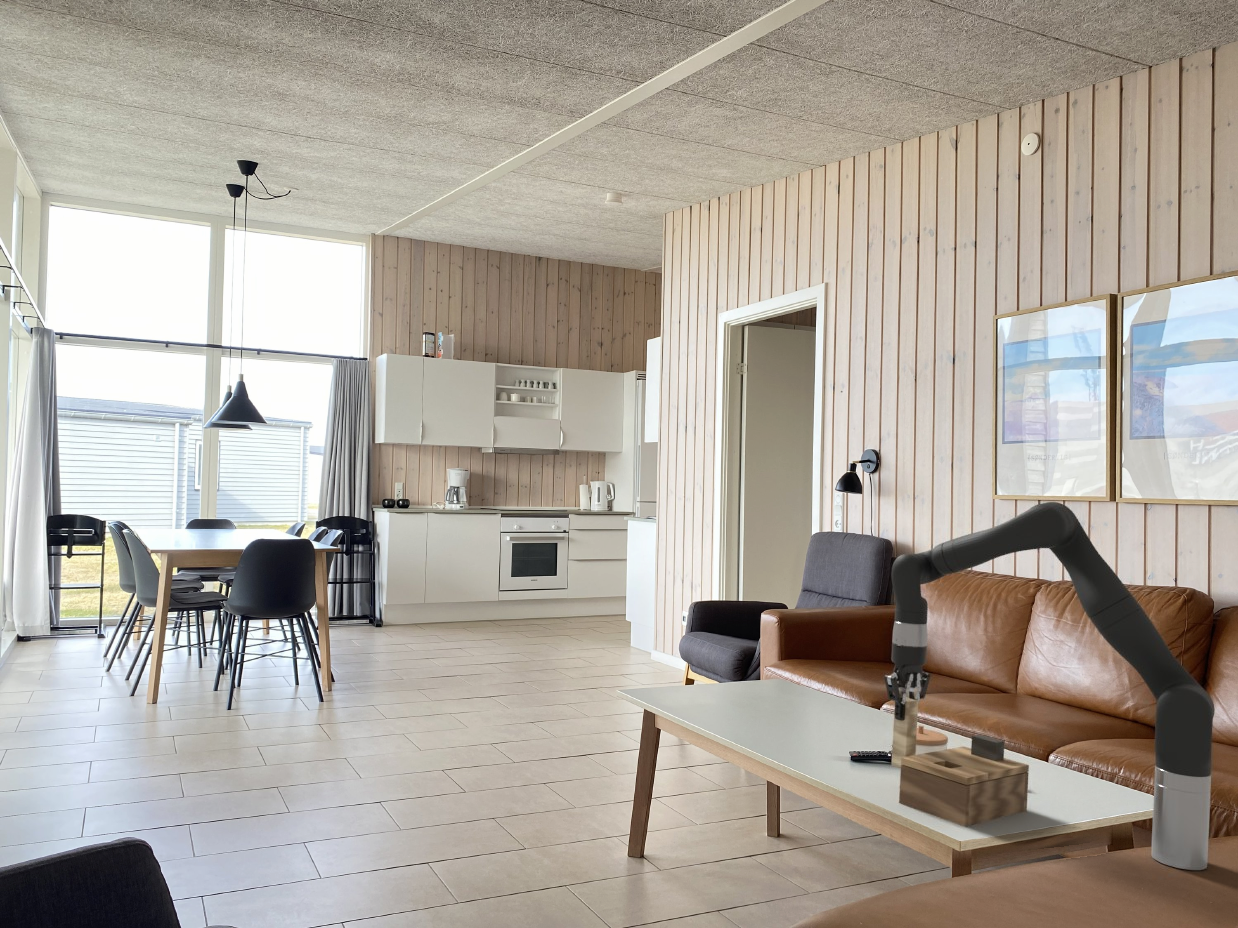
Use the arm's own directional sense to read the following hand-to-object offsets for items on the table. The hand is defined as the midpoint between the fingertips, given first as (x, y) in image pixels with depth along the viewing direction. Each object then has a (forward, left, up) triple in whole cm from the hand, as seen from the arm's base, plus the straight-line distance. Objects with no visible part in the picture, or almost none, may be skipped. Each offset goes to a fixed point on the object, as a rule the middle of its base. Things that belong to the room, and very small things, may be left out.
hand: (905, 718), depth 221 cm
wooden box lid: (-1, +15, -7) cm, 17 cm away
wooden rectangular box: (-1, +15, -16) cm, 22 cm away
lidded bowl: (-18, -9, -17) cm, 26 cm away
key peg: (0, 0, -11) cm, 11 cm away
